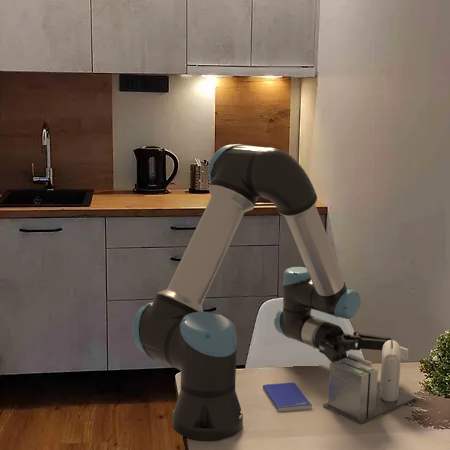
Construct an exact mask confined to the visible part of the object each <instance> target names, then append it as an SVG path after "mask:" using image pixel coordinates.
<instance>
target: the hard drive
mask: <svg viewBox="0 0 450 450" xmlns="http://www.w3.org/2000/svg"><path fill="white" fill-rule="evenodd" d="M262 390H263V391H264V393H265V394H266V396H267V397H268V399H269V401H270V402H271V404H272V406H273V407H274V408H275V410H276V411H277V412H285V411H298V410H309V409H313V405H312V403H311V401H309V399H308V397H306V396H305V394H304V392H303V391H302V390H301V389H300V388H299V386H298V385H297V384H296V382H282V383H271V384H263V385H262Z"/></svg>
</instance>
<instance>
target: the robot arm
mask: <svg viewBox="0 0 450 450" xmlns="http://www.w3.org/2000/svg"><path fill="white" fill-rule="evenodd" d="M207 172H208V174H207V177H208V178H207V179H208V181H209V183H210V184H209V186H208V191H209V195H210V199H209V201H208V203H207V205H206V207H205V210H204V212H203V214H202V215H201V218H200V219H199V221H198V224H197V226H196V228H195V230H194V232H193V234H192V236H191V238H190V241H189V242H188V245H187V247H186V249H185V250H184V252H183V255H182V258H181V259H180V262H179V264H178V266H177V268H176V270H175V272H174V274H173V276H172V279H171V281H170V282H169V284H168V287H167V288H166V289H164V290H161V291H158V293H156V296H155V298H154V300H153V301H152V302H149V303H145V305H143V306H141V307H140V308H139V309H138V311H137V312H136V314H135V316H134V318H133V320H132V325H131V333H132V339H133V343H134V345H135V346H136V348H137V349H138V350H139V351H140V352H142V353H143V354H145V355H146V356H147V357H149V358H151V359H153V360H157V361H159V362H162V363H164V364H165V365H168V366H171V367H173V368H174V369H177V370H179V371H180V390H179V394H178V396H177V400H176V404H175V407H174V409H173V411H172V414H171V415H172V416H171V418H172V419H171V425H172V427H173V430H174V431H175V432H176V433H177V434H179V435H180V436H182V437H185V438H187V439H190V440H197V441H221V440H224V439H228V438H230V437H233V436H235V435H236V434H238V433H239V432H240V431H241V430H242V428H243V426H244V425H243V424H244V414H243V410H242V408H241V404H240V402H239V399H238V398H239V397H238V395H237V390H236V377H237V373H236V371H237V368H236V367H237V352H238V351H237V350H238V349H237V347H238V340H237V339H238V338H237V329H236V327H235V324H234V322H232V320H230V319H229V318H227V317H226V316H223V315H221V314H219V313H217V312H216V313H215V312H208V311H204V309H203V305H202V304H203V302H204V300H205V298H206V296H207V293H208V292H209V289H210V287H211V285H212V283H213V281H214V279H215V276H216V274H217V273H218V270H219V268H220V266H221V264H222V262H223V259H224V257H225V255H226V253H227V251H228V249H229V247H230V245H231V242H232V240H233V238H234V235H235V234H236V231H237V229H238V228H239V225H240V224H241V222H242V221H241V220H242V218H243V217H244V215H245V213H246V212H249V211H252V210H253V209H254V208H255V206H256V204H257V201H258V199H259V198H261V199H266V200H269V201H270V202H271V203H272V204H273V205H274V206H275V208H276V210H277V212H278V214H280V215H281V216H283V217H284V218H285V221H286V222H287V225H288V227H289V230H290V233H291V235H292V238H293V239H294V242H295V244H296V247H297V249H298V251H299V254H300V257H301V259H302V261H303V264H304V266H305V267H303V266H291V267H288V268H286V269H285V270H284V272H283V278H282V279H283V283H282V301H283V302H282V307H281V308H280V309H279V310H278V311H277V312H276V314H275V317H274V319H273V320H274V321H273V323H274V324H273V325H274V328H275V330H276V331H277V332H278V333H279V334H281V335H283V336H285V337H287V338H288V339H291V340H295V341H298V342H300V343H302V344H305V345H308V346H310V347H312V348H313V349H315V350H316V349H317V350H319V351H318V353H321V354H323V355H325V356H324V357H326V358H327V359H328V360H329V361H330V363H333V362H336V361H339V360H341V359H344V358H348V359H351V360H353V361H356V362H359V363H361V364H364V365H366V366H369V367H371V368H373V367H372V365H373V362H372V361H369V360H368V359H364V358H363V357H360V356H357V355H355V354H352V353H347V352H349V351H353V350H354V351H360V350H361V349H362V350H373V351H374V350H375V351H382V348H383V345H384V343H385V342H386V341H388V340H391V341H392V338H391V337H388V336H382V335H381V336H380V335H374V334H368V333H363V332H359V331H355V330H354V331H353V334H351V333H345V332H344V331H343V329H342V327H341V326H340V325H337V324H335V323H332V322H330V321H327V320H324V319H322V318H319V317H316V316H313V315H312V310H314V311H318V312H320V313H324V314H327V315H330V316H332V317H336V318H341V319H345V320H346V319H347V320H349V319H352V318H354V317H355V316H356V315H357V314H358V312H359V310H360V307H361V296H360V294H359V292H357V291H356V290H354V289H353V288H348V287H347V285H346V282H345V279H344V277H343V274H342V272H341V269H340V266H339V264H338V261H337V258H336V257H335V253H334V251H333V248H332V245H331V242H330V239H329V238H328V235H327V232H326V229H325V226H324V225H323V222H322V218H321V216H320V214H319V211H318V208H317V206H316V203H317V202H318V196H317V192H316V190H315V188H314V186H313V184H312V180H311V179H310V177H309V175H308V174H307V173H306V170H304V168H303V167H302V165H300V163H299V162H298V161H297V160H296V159H295V158H294V157H293V156H292V155H290V154H289V153H288V152H286V151H285V150H284V149H283V150H282V149H280V148H277V147H276V148H275V147H266V146H255V145H248V144H245V143H241V144H240V143H237V144H228V145H224V146H222V147H220V148H219V149H217V151H216V152H215V153H213V155H212V157H211V159H210V161H209V162H208V168H207ZM356 344H357V345H356ZM399 346H400V350H401V360H404V361H408V360H409V352H410V351H409V348H406V347H405V346H401V345H399Z"/></svg>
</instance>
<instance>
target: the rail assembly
mask: <svg viewBox="0 0 450 450" xmlns="http://www.w3.org/2000/svg"><path fill="white" fill-rule="evenodd" d="M328 371H329V374H328V375H329V376H328V394H327V395H328V397H327V402H325V403H323V404H322V407H323V408H325V409H327V410H329V411H332V412H334V413H336V414H337V415H340V416H342V417H344V418H346V419H348V420H351V421H353V422H354V423H356V424H359V425H363V424H365V423H368V422H370V421H371V420H373V419H376V418H378V417H379V418H380V417H381V416H382V415H385V414H387V413H390V412H392V411H395V410H397V409H399V408H402V407H403V406H406V405H408V404H410V403H413V402H415V401H417V396H414V395H412V394H409V393H406V392H404V391H402V390H399V391H398V398H397V400H395V401H393V402H389V401H384V400H383V399H381V396H380V382H379V381H378V375H379V373H378V372H379V370H378V369H376V368H373V367H369V366H366V365H364V364H361V363H359V362H356V361H353V360H351V359H348V358H344V359H341V360H339V361H336V362H333V363H332V362H330V363H329V370H328Z"/></svg>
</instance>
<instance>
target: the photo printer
mask: <svg viewBox="0 0 450 450" xmlns="http://www.w3.org/2000/svg"><path fill="white" fill-rule="evenodd" d="M400 346H401V345H400V344H399V343H398V342H397V341H396V340H392V339H391V340H388V341H386V342H385V343H384V345H383V348H382V350H381V368H380V380H379V381H380V396H381V399H383V400H384V401H389V402H393V401H395V400H397V398H398V391H400V377H401V375H400V374H401V364H402V363H401V360H402V359H401V350H400Z"/></svg>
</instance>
